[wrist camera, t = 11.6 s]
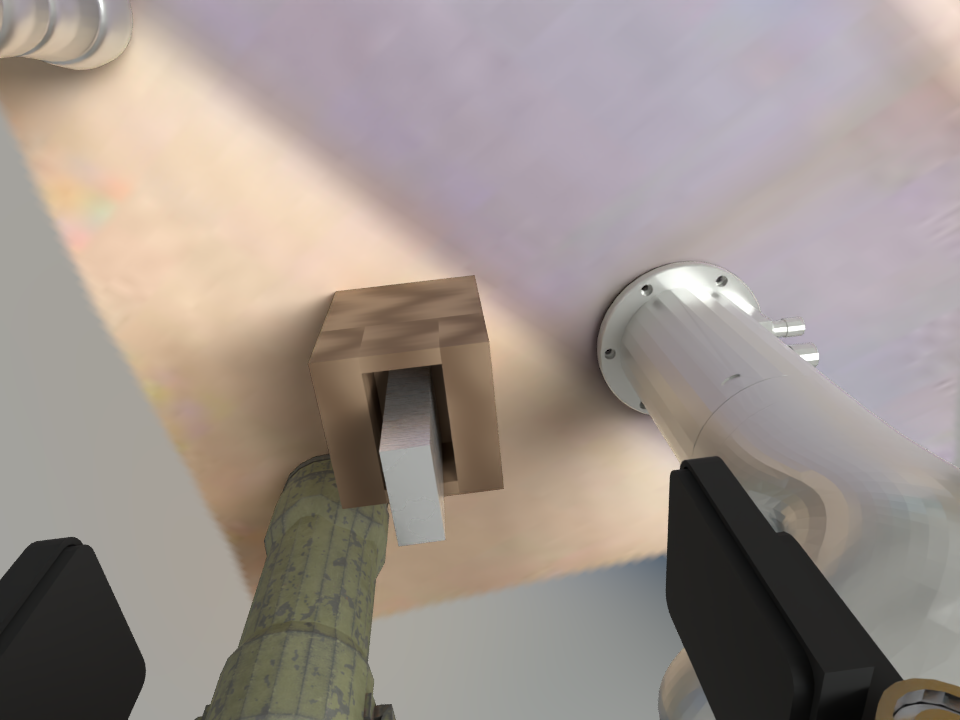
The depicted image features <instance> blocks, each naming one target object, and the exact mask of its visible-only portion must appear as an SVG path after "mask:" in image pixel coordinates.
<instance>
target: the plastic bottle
mask: <svg viewBox="0 0 960 720" xmlns="http://www.w3.org/2000/svg"><path fill="white" fill-rule="evenodd" d="M132 28H133V16H132V9H131V5H130V1H129V0H0V58H7V57H27V58H33V59H38V60H41V61H44V62H46V63H49V64H52V65H56V66H60V67H64V68H69V69H74V70H89V69H93V68H97V67H100V66H102V65H104V64H106V63H108V62H110V61H112V60H114V59H116V58H117V57H118V56H119V55H120V54H121V53H122V52H123V51H124V50H125V48H126V47H127V45H128V43H129V40H130V38H131V35H132Z"/></svg>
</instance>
